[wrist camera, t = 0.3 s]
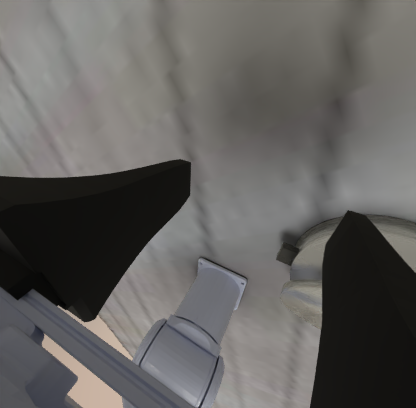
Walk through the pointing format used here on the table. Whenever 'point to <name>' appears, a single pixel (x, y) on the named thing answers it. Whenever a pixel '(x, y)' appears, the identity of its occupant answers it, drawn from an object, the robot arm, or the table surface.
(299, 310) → the lid
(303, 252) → the grey flat round piece
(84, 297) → the robot arm
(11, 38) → the table surface
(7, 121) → the table surface
